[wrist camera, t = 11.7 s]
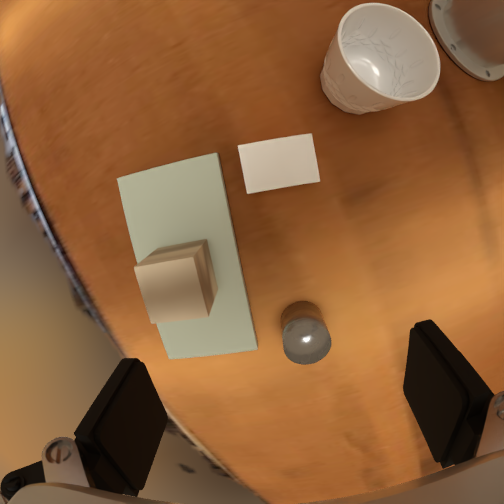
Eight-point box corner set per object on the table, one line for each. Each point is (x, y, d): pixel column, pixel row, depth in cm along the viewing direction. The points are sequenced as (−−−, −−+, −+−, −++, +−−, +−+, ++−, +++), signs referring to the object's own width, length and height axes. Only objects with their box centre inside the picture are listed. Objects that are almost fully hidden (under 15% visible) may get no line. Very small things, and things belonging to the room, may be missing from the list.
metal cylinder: (277, 305, 31) (280, 328, 26) (319, 297, 31) (329, 320, 26) (283, 340, 32) (286, 367, 28) (323, 333, 32) (332, 359, 27)
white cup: (395, 120, 26) (450, 104, 16) (320, 122, 26) (349, 100, 17) (381, 49, 24) (425, 10, 14) (307, 47, 24) (327, -2, 15)
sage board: (122, 178, 28) (117, 178, 27) (218, 153, 27) (216, 152, 26) (171, 353, 33) (169, 359, 32) (257, 343, 32) (257, 349, 31)
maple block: (157, 248, 29) (133, 267, 23) (206, 238, 28) (193, 256, 22) (170, 295, 30) (151, 323, 24) (218, 288, 30) (208, 317, 24)
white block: (240, 148, 27) (237, 145, 24) (304, 138, 27) (311, 133, 23) (248, 190, 28) (247, 193, 25) (312, 179, 28) (320, 181, 24)
